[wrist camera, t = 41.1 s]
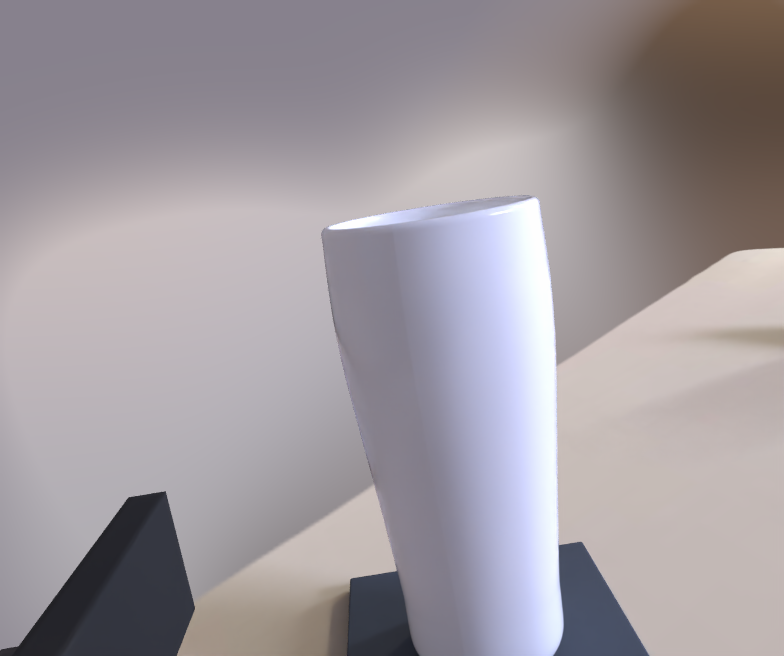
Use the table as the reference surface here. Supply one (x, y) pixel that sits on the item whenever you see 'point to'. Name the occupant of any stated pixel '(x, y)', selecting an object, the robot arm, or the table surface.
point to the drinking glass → (458, 414)
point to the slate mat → (579, 601)
